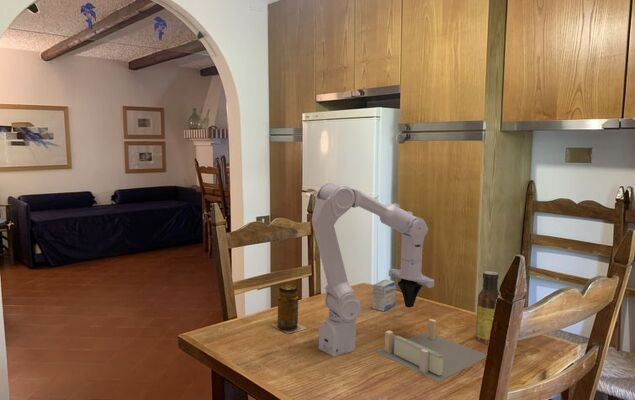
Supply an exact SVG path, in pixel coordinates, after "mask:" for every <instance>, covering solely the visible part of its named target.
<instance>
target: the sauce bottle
mask: <svg viewBox="0 0 635 400" xmlns="http://www.w3.org/2000/svg"><path fill="white" fill-rule="evenodd" d="M482 278H483V279H482V280H483V281H482V289H481V291H479V293H478V295H477V305H476V306H477V308H476V327H475V336H476V337H475V338H476V340H477V341H478V342H480V343H482V344H484V345H485V344H486V345H489V344H488V341H489V336H490V330H491V325H492V318H493V315H494V309H495V304H496V299H497V297H498V295H500V293H499V288H498V280H499V272H496V271H493V270H492V271H491V270H490V271H489V270H487V271H486V270H485V271H483V273H482Z"/></svg>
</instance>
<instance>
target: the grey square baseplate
mask: <svg viewBox="0 0 635 400" xmlns="http://www.w3.org/2000/svg"><path fill="white" fill-rule="evenodd" d="M427 320H428V321H427V330H426V331H424V332H421V333H418V334H415V335H413V336H410V337H408V338H406V339H407V340H409V341H412V342H414V343H416V344H419V345H421V346H423V347H425V348H428V349H430V350H432V351H435V352H437V353H439V354H442V355H443V368H442V374H441V375H437V374H435V373H432V372H430V371H428V362H429V351H428V350H425V349H422V350H420V366H418V365H416V364H414V363H412V362H410V361H408V360H405V359H403V358H401V357H399V356H397V355H395V354H394V353H392V352H391V348H392V334H394V331H391V330H386V331H385V332H384V347H381V348H378V349H376V350H374V352H375V353H376V354H378V355H381V356H383V357H385V358H387V359H389V360H391V361H393V362H396V363H398V364H400V365H401V366H404V367H406V368H408V369H410V370H412V371H414V372H417V373H418V374H421V375H423V376H426V377H427V378H429V379H431V380H433V381H435V382H437V383H438V382H441V381H442V380H444V379H446V378H448V377H450V376H453V375H454V374H456V373H458V372H460V371H463V370H464V369H467V368H468V367H470V366H473V365H475V364H477V363H478V362H481V361H483V360H484V359H486V354H487V353H485V352H481V351H478V350H476V349H474V348H471V347H469V346H467V345H466V346H465V345H464V344H460V343H458V342H455V341H453V340H451V339H448V338H445V337H443V336H440V335H437V320H436V319H432V318H429V319H427Z"/></svg>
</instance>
